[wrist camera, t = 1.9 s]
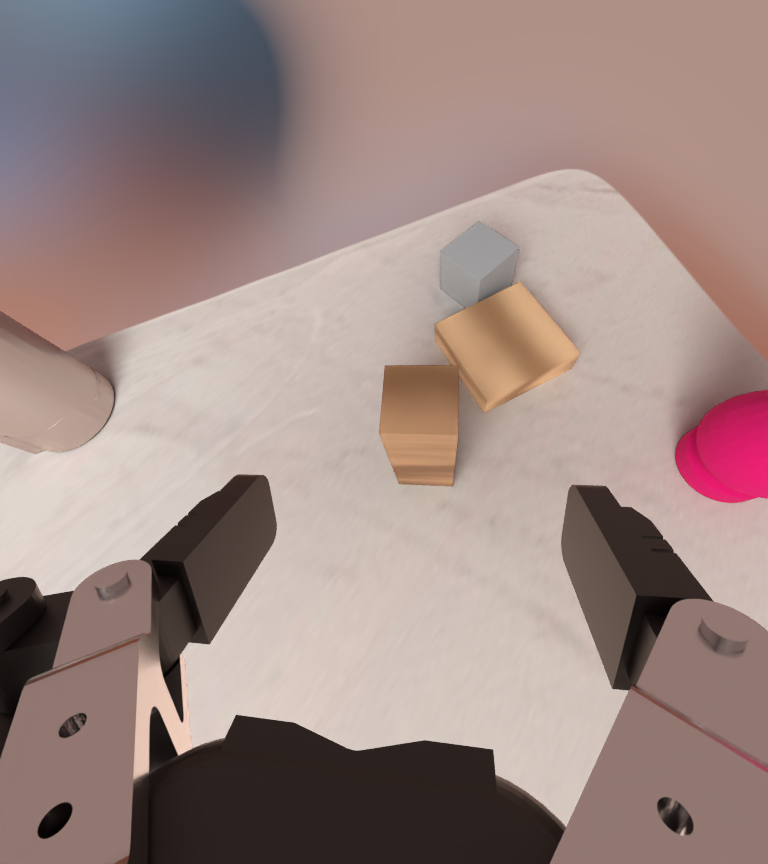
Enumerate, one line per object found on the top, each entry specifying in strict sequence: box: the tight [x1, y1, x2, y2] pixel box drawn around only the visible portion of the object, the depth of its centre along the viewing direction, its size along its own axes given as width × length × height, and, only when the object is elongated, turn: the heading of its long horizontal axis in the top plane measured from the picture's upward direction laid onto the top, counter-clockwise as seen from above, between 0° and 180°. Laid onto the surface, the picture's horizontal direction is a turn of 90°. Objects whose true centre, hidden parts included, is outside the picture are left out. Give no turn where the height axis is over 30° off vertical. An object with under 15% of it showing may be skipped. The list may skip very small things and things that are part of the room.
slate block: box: [440, 221, 520, 308], centre depth 38 cm, size 5×5×5 cm
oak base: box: [435, 282, 580, 413], centre depth 36 cm, size 9×9×3 cm
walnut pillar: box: [379, 365, 459, 486], centre depth 29 cm, size 4×4×12 cm
